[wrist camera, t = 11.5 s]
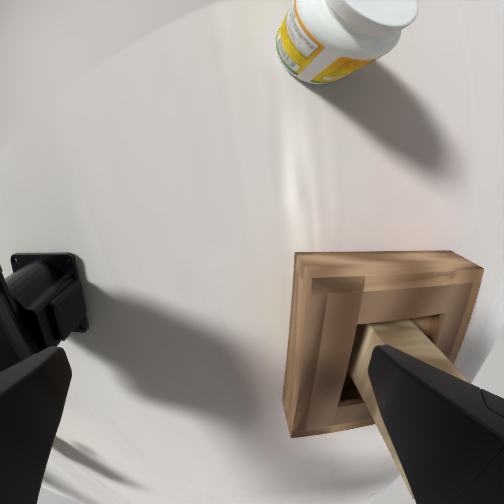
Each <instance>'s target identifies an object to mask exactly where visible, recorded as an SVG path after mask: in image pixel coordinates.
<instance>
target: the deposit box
mask: <svg viewBox="0 0 504 504" xmlns="http://www.w3.org/2000/svg"><path fill="white" fill-rule="evenodd" d="M483 272H484V268H482V267H480V266H478V265H476V264H475V263H473V262H471V261H469V260H467V259H465V258H464V257H462V256H460V255H458V254H456V253H454V252H452V251H378V252H295V261H294V276H293V290H292V304H291V316H290V328H289V340H288V350H287V361H286V371H285V381H284V390H283V399H282V402H283V406H284V411H285V415H286V419H287V424H288V428H289V432H290V436H291V438H296V437H305V436H312V435H319V434H326V433H332V432H338V431H343V430H349V429H354V428H359V427H363V426H368V425H372V424H375V422H374V420H373V418H372V416H371V414H370V412H369V410H368V408H367V406H366V404H365V402H364V400H363V398H362V396H361V395H360V393H359V391H358V389H357V387H356V385H355V383H354V381H353V379H352V377H351V376H350V374H349V372H348V370H347V369H348V364H349V360H350V356H351V351H352V347H353V342H354V337H355V333H356V328H357V324H367V323H376V322H385V321H393V320H401V319H410V320H411V321H412V322H413V323H414V324H415V325H416V326H417V327H418V328H419V329H420V330H421V331H422V332H423V333H424V334H425V335H426V336H427V337H428V338H429V339H430V341H431V342H432V343H433V344H434V345H435V346H436V347H437V348H438V349H439V350H440V351H441V352H442V353H443V354H444V355H445V356H446V357H447V358H448V359H449V360H450V362H451V363H452V364H454V362H455V359H456V357H457V354H458V352H459V349H460V347H461V344H462V341H463V339H464V336H465V333H466V330H467V327H468V324H469V321H470V318H471V315H472V312H473V309H474V305H475V302H476V299H477V295H478V291H479V288H480V284H481V280H482V276H483Z"/></svg>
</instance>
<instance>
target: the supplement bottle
mask: <svg viewBox="0 0 504 504" xmlns="http://www.w3.org/2000/svg"><path fill="white" fill-rule="evenodd" d="M417 13H418V1H417V0H293V2H292V4H291V6H290V8H289V10H288V12H287V14H286V16H285V18H284V20H283V22H282V24H281V27H280V28H279V31H278V33H277V36H276V40H275V48H276V53H277V56H278V58H279V60H280V62H281V64H282V65H283V67H284V68H285V69H286V70H287V71H288V72H289V73H291V74H292V75H293V76H295V77H296V78H298V79H300V80H302V81H305V82H308V83H312V84H327V83H332V82H335V81H337V80H339V79H341V78H343V77H345V76H346V75H348V74H350V73H352V72H354V71H355V70H357V69H359V68H361V67H363V66H365V65H366V64H368V63H370V62H372V61H374V60H376V59H378V58H380V57H382V56H383V55H385V54H387V53H388V52H390V51H391V50H392V49H393V48H394V47H395V45H396V44H397V42H398V40H399V38H400V34H401V30H402V29H403V28H405V27H406V26H408V25H409V24H411V23H412V22H413V21H414V20H415V18H416V16H417Z"/></svg>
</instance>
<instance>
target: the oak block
mask: <svg viewBox="0 0 504 504" xmlns="http://www.w3.org/2000/svg"><path fill="white" fill-rule="evenodd" d="M383 344H389V345H391V346H393V347H395V348H397V349H399V350H401V351H403V352H405V353H407V354H409V355H411V356H413V357H415V358H417V359H420V360H422V361H424V362H426V363H428V364H430V365H432V366H434V367H436V368H438V369H440V370H443V371H445V372H447V373H449V374H451V375H453V376H455V377H457V378H460V379H462V380H464V381H466V382H468V383H470V382H469V381H468V380H467V379H466V378H465V377H464V376H463V374H462V373H461V372H460V371H459V370H458V369H457V368H456V367H455V366H454V365H453V364H452V363H451V362H450V360H449V359H448V358H447V357H446V356H445V355H444V354H443V353H442V352H441V351H440V350H439V349H438V348H437V347H436V346H435V345H434V344H433V343H432V342H431V341H430V339H429V338H428V337H427V336H426V335H425V334H424V333H423V332H422V331H421V330H420V329H419V328H418V327H417V326H416V325H415V324H414V323H413V322H412V321H411V320H410V319H401V320H393V321H385V322H376V323H367V324H357V328H356V333H355V337H354V342H353V347H352V351H351V356H350V360H349V364H348V369H347V370H348V372H349V374H350V376H351V377H352V379H353V381H354V383H355V385H356V387H357V389H358V391H359V393H360V395H361V396H362V398H363V400H364V402H365V404H366V406H367V408H368V410H369V412H370V414H371V416H372V418H373V420H374V422H375V424H376V425H377V427H378V429H379V431H380V433H381V435H382V437H383V439H384V441H385V443H386V445H387V447H388V449H389V451H390V453H391V455H392V457H393V459H394V461H395V463H396V465H397V467H398V469H399V471H400V473H401V475H402V477H403V479H404V481H405V483H406V486H407V488H408V490H409V492H410V494H411V496H412V498H413V499H414V496H413V493H412V491H411V488H410V486H409V483H408V480H407V478H406V475H405V473H404V470H403V468H402V465H401V463H400V460H399V458H398V456H397V453H396V451H395V448H394V446H393V443H392V441H391V439H390V436H389V434H388V432H387V429H386V427H385V425H384V422H383V420H382V417H381V415H380V412H379V409H378V405H377V402H376V399H375V395H374V392H373V389H372V386H371V383H370V379H369V376H368V366H369V362H370V358H371V355H372V351H373V348H374V347H375V346H377V345H383ZM470 384H471V383H470Z"/></svg>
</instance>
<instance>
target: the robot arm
mask: <svg viewBox="0 0 504 504" xmlns="http://www.w3.org/2000/svg"><path fill="white" fill-rule="evenodd" d="M15 258H16V260H17V262H16V260H15ZM67 258H69V260H70V262H68V261H67ZM11 265H12V270H13V274H11V275H10V276H8V277H7V278H6V279H4V277H3V274H2V268H1V266H0V504H37V500H38V495H39V492H40V488H41V484H42V480H43V476H44V472H45V469H46V465H47V462H48V458H49V455H50V451H51V448H52V445H53V442H54V439H55V436H56V432H57V429H58V426H59V424H60V420H61V417H62V413H63V409H64V405H65V401H66V397H67V393H68V389H69V385H70V381H71V378H72V370H71V367H70V364H69V361H68V359H67V356H66V353H65V351H64V349H63V348H61V347H57V346H58V344H59V343H60V342H61V341H65V340H66V338H67V337H68V336H69V334H70V333H71V332H82V333H84V332H86V331H87V330H88V328H89V325H88V321H87V317H86V307H85V302H84V297H83V293H82V288H81V283H80V282H79V279H78V274H77V268H76V262H75V258H74V256H73V254H71V253H15V254H13V255H12V256H11ZM81 325H83V326H84V327H82V326H81ZM368 376H369V379H370V383H371V386H372V389H373V392H374V395H375V399H376V402H377V405H378V409H379V412H380V415H381V417H382V420H383V422H384V425H385V427H386V429H387V432H388V434H389V436H390V439H391V441H392V443H393V446H394V448H395V451H396V453H397V456H398V458H399V460H400V463H401V465H402V468H403V470H404V473H405V475H406V478H407V480H408V483H409V486H410V488H411V491H412V493H413V496H414V499H415V501H416V504H504V399H503V398H501V397H499V396H497V395H494V394H492V393H490V392H488V391H485V390H483V389H480V388H479V387H477V386H474V385H472V384H470V383H468V382H466V381H464V380H462V379H460V378H457V377H455V376H453V375H451V374H449V373H447V372H445V371H443V370H440V369H438V368H436V367H434V366H432V365H430V364H428V363H426V362H424V361H422V360H420V359H417V358H415V357H413V356H411V355H409V354H407V353H405V352H403V351H401V350H399V349H397V348H395V347H393V346H391V345H389V344H383V345H377V346H375V347H374V348H373V351H372V355H371V358H370V362H369V366H368Z"/></svg>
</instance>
